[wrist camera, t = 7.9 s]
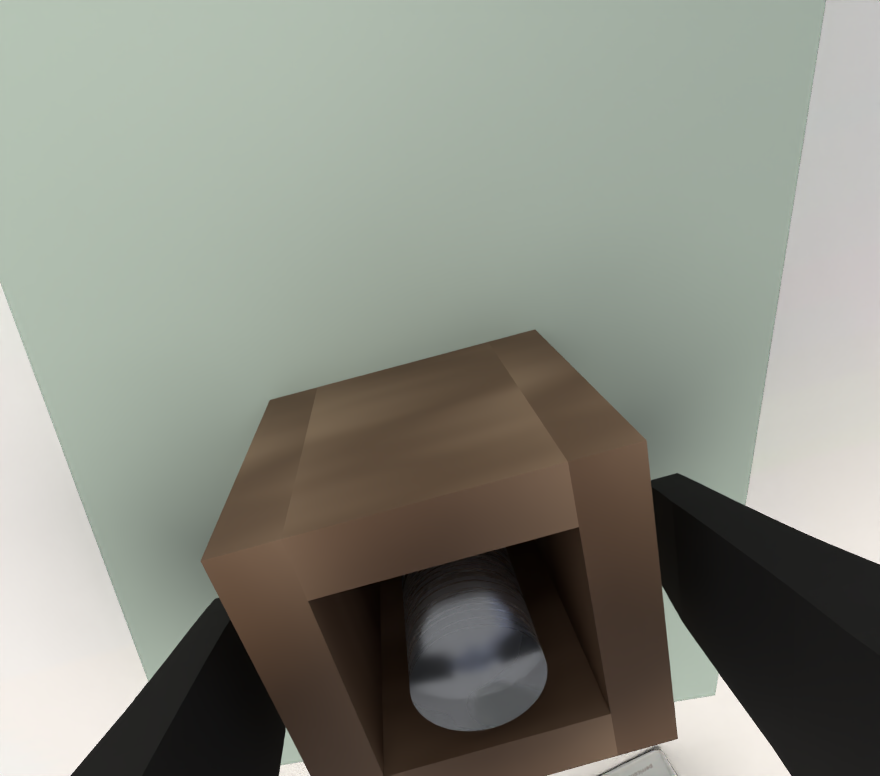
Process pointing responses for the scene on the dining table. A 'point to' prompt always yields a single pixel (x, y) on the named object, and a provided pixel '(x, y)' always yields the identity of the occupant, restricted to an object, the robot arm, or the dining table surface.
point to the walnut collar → (448, 559)
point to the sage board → (385, 230)
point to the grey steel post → (471, 643)
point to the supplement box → (645, 766)
